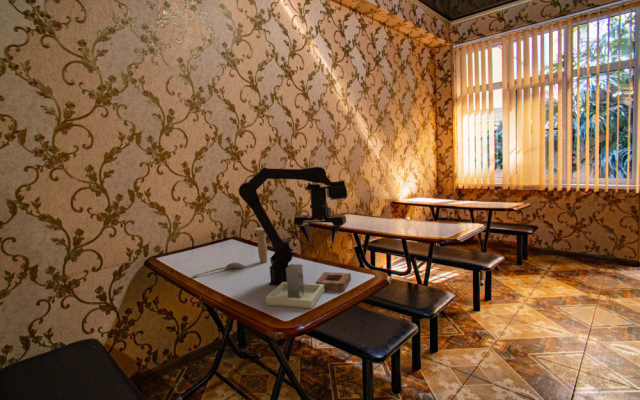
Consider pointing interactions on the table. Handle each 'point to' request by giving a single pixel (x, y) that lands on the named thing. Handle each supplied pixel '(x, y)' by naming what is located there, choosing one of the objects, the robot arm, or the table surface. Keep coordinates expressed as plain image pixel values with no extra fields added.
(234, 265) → the soupspoon
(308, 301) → the tray
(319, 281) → the holder
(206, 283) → the table surface
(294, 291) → the grey rectangular block
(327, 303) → the table surface
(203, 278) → the table surface
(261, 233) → the handle
